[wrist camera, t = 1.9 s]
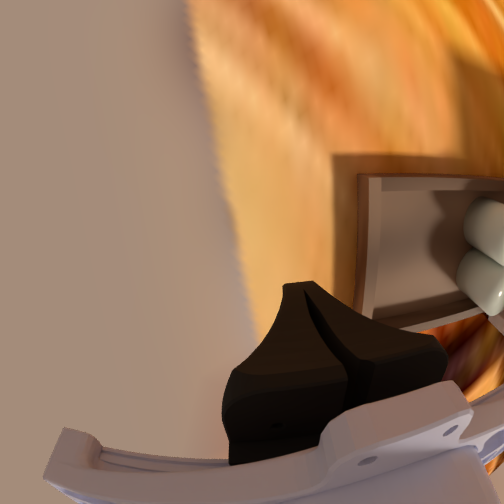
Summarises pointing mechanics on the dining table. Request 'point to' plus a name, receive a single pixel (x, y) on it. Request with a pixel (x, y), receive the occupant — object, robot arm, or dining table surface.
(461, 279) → the white rounded cylinder
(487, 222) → the grey rounded lump
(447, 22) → the dining table surface
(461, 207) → the tray
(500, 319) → the grey rectangular block
